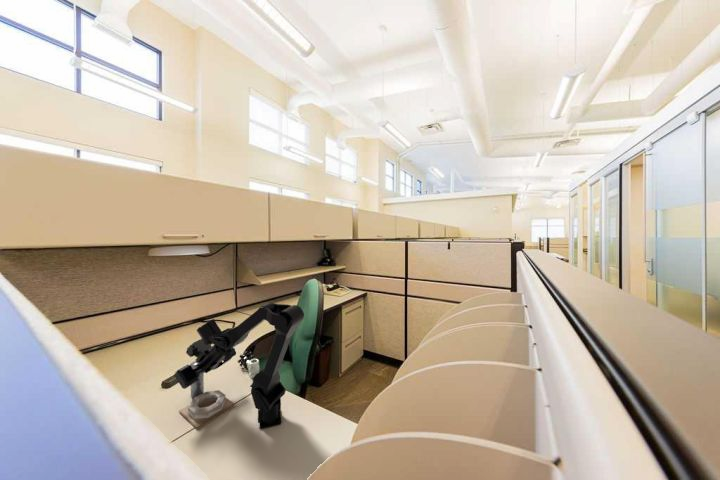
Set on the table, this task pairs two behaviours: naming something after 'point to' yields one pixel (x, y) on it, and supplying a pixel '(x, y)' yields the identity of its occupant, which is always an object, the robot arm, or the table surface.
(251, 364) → the valve
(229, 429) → the table surface
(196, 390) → the metal pin
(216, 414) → the bore block
